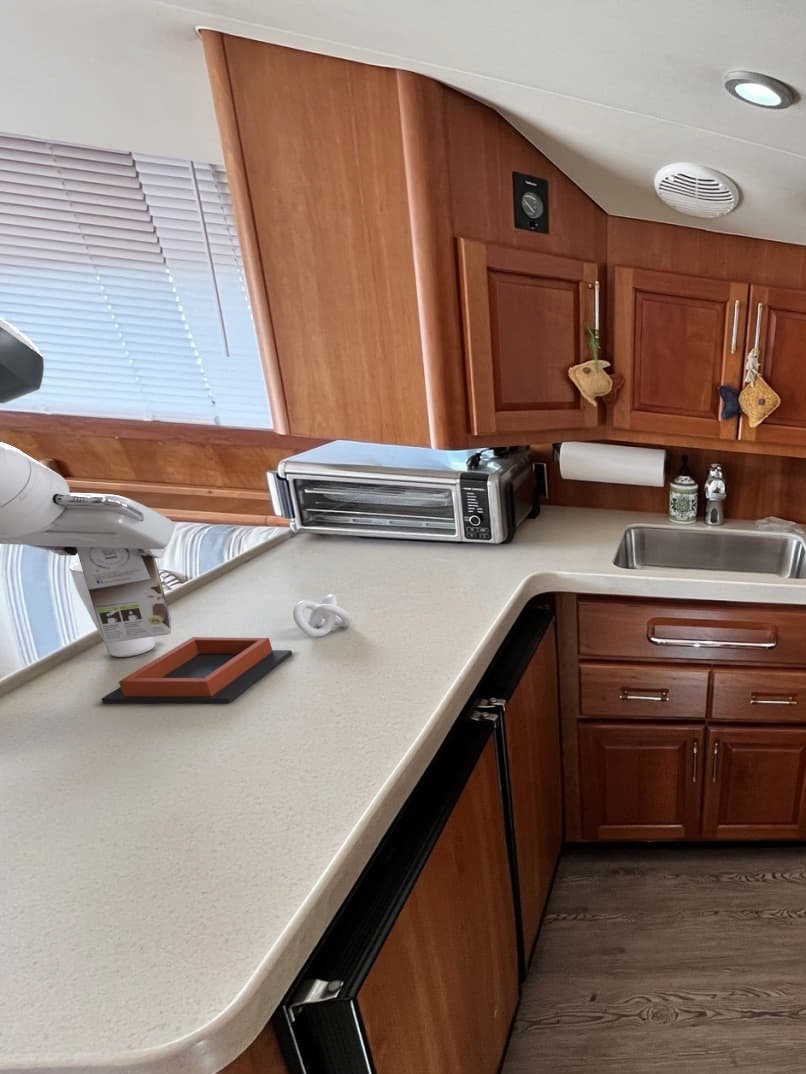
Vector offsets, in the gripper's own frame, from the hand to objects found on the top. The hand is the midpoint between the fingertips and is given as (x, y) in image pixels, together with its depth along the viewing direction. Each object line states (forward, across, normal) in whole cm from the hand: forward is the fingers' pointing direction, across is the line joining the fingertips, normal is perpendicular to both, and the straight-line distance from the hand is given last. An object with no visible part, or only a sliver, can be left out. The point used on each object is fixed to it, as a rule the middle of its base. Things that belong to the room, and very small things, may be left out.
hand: (115, 551), depth 81 cm
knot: (+34, -8, -2) cm, 35 cm away
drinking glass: (+28, +17, +5) cm, 33 cm away
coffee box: (+8, 0, +8) cm, 11 cm away
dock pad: (+22, +1, +10) cm, 25 cm away
